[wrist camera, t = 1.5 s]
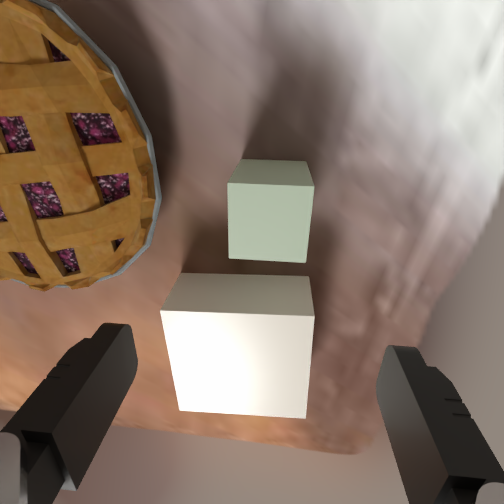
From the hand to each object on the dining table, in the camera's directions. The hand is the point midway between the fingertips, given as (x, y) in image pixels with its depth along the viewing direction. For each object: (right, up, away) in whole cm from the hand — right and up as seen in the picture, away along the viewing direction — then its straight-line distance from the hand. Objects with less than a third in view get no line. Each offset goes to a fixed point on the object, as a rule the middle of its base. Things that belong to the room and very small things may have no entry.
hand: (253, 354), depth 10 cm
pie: (-17, +11, +16) cm, 26 cm away
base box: (-1, -4, +22) cm, 23 cm away
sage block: (+2, +8, +15) cm, 18 cm away
